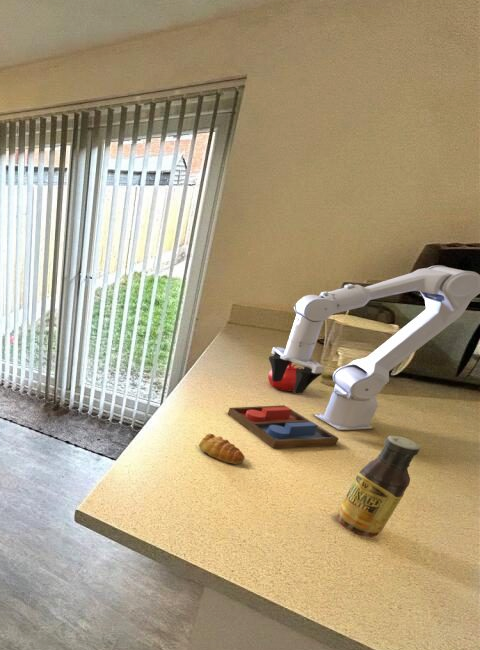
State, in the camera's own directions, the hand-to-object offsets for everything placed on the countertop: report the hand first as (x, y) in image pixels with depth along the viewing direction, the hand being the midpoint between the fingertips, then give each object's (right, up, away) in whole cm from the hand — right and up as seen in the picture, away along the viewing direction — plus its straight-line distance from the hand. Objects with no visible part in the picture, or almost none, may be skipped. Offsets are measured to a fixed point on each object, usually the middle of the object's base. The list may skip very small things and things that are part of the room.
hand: (286, 386), depth 109 cm
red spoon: (-5, -9, +1) cm, 11 cm away
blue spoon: (-5, -12, -7) cm, 15 cm away
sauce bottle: (-15, -26, -34) cm, 45 cm away
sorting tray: (-4, -11, -2) cm, 12 cm away
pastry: (-27, -16, -12) cm, 34 cm away
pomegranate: (+15, -1, +20) cm, 25 cm away
